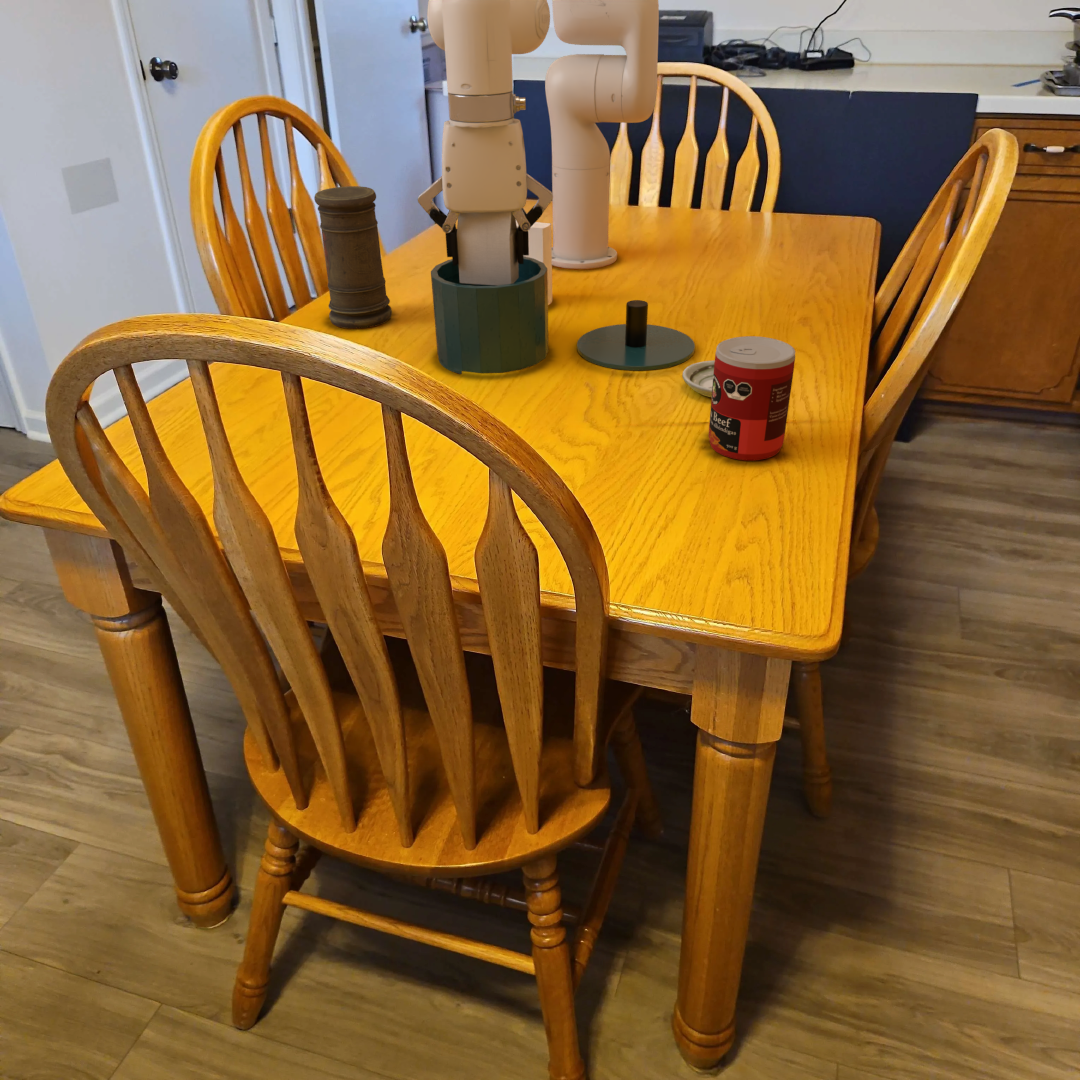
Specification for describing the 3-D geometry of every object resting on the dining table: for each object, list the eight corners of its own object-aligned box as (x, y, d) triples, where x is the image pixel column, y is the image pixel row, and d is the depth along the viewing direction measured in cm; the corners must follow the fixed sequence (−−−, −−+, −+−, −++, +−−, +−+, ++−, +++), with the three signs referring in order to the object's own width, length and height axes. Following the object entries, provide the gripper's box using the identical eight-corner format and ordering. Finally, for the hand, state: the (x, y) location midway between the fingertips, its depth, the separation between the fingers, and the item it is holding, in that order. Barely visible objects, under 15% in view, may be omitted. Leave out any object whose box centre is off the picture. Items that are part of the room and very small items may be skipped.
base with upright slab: (561, 298, 143) (561, 218, 137) (537, 316, 136) (535, 233, 130) (509, 291, 146) (506, 213, 140) (483, 309, 140) (478, 227, 133)
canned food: (700, 432, 103) (708, 337, 97) (770, 428, 104) (782, 333, 98) (717, 464, 97) (726, 365, 91) (792, 460, 97) (806, 360, 91)
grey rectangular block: (511, 286, 116) (508, 203, 110) (459, 283, 117) (454, 201, 112) (518, 277, 119) (516, 196, 114) (468, 274, 120) (463, 194, 115)
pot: (441, 337, 130) (435, 255, 124) (547, 335, 130) (546, 252, 124) (433, 378, 117) (425, 289, 111) (550, 375, 118) (548, 286, 111)
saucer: (744, 416, 106) (746, 396, 105) (667, 399, 111) (669, 380, 109) (774, 387, 113) (776, 368, 112) (700, 372, 118) (702, 354, 116)
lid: (574, 333, 130) (574, 286, 127) (684, 330, 130) (688, 283, 127) (580, 376, 117) (580, 325, 114) (703, 373, 117) (707, 322, 114)
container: (401, 311, 139) (389, 186, 130) (373, 332, 132) (358, 201, 122) (349, 306, 142) (332, 183, 132) (318, 326, 135) (299, 197, 125)
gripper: (555, 103, 111) (556, 252, 120) (409, 106, 111) (422, 255, 120) (557, 112, 104) (558, 269, 114) (402, 115, 104) (416, 272, 114)
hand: (488, 261), depth 117 cm, fingers closed on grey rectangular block, 7 cm apart
